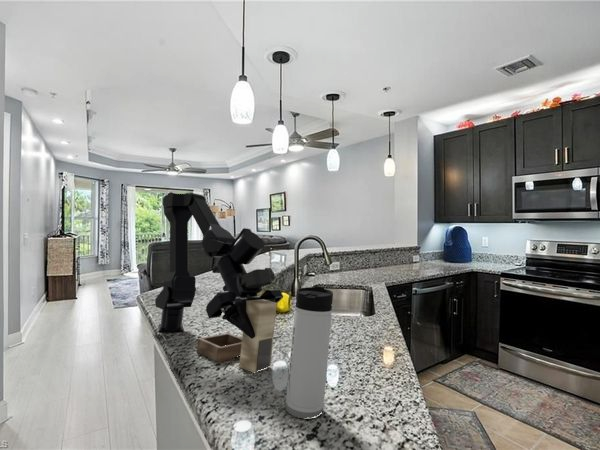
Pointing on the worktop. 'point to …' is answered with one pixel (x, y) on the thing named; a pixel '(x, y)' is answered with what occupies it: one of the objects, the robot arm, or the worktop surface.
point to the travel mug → (309, 352)
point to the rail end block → (258, 335)
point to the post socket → (220, 347)
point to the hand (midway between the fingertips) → (262, 335)
